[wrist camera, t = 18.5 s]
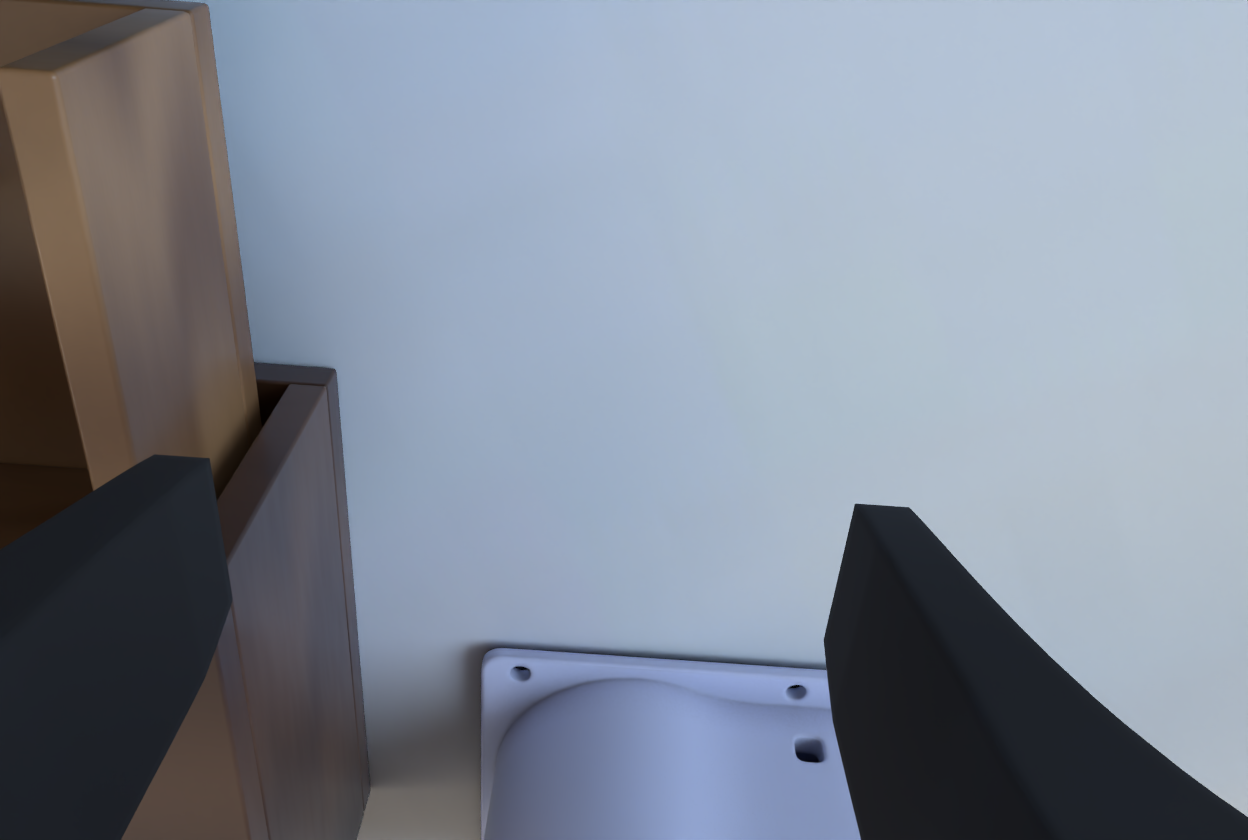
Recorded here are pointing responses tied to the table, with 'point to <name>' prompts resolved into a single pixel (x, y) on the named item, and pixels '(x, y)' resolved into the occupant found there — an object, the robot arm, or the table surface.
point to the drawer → (115, 253)
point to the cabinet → (277, 646)
